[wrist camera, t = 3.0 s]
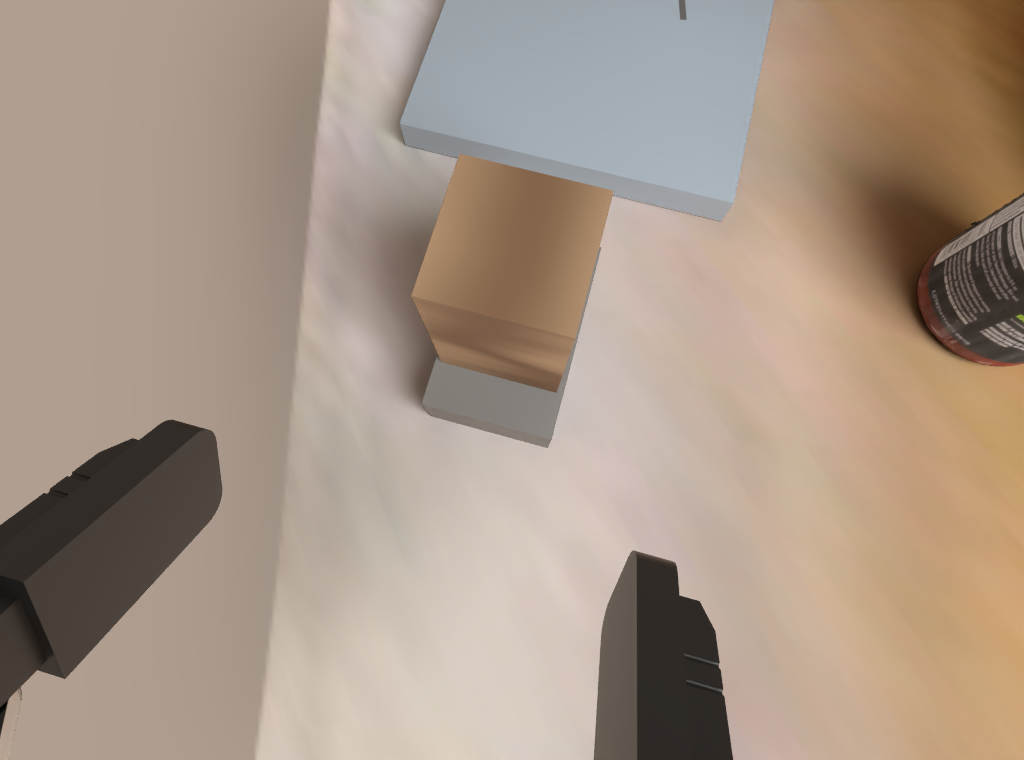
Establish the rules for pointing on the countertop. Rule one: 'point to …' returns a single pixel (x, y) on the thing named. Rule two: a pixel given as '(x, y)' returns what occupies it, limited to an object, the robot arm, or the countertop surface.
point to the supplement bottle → (979, 289)
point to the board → (597, 92)
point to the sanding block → (507, 295)
